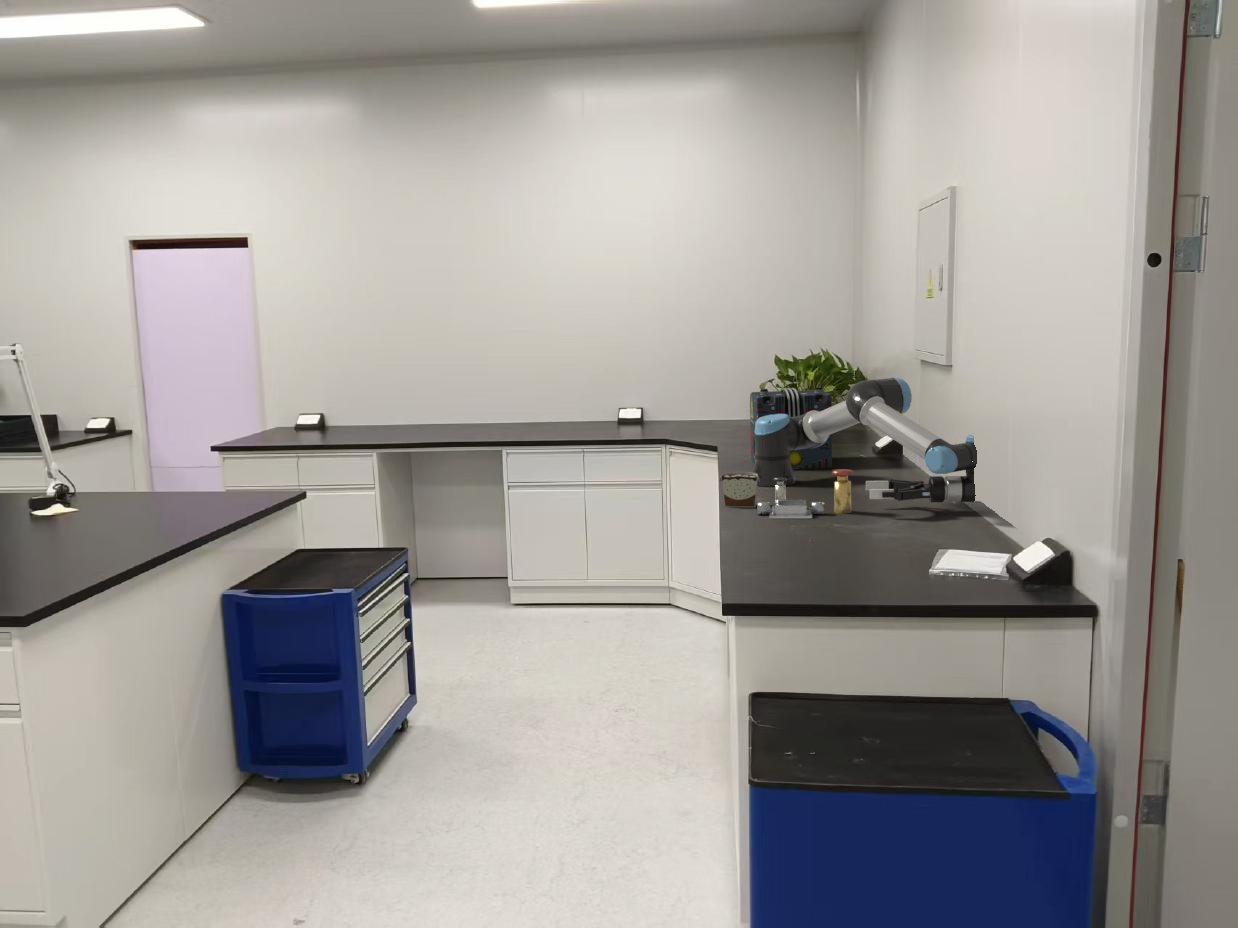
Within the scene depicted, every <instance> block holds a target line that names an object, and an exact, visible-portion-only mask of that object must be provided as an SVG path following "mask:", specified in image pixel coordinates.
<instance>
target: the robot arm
mask: <svg viewBox="0 0 1238 928" xmlns="http://www.w3.org/2000/svg"><path fill="white" fill-rule="evenodd" d="M912 398H913V396H912V391H911V388H910V386H909V384H908V382H907V381H905V379H903V378H900V377H889V378H880V379H867V380H866V379H865V380H861V381H858V382H856V383H855V384H853V385H852V386H851V387H850V388H849V390H848V391H847V394H846V398H845V400H843V401H841V402H839V403H837V404H833V405H832V407H829V408H827V409H825V410H823V411H820V412H819V411H815V410H813V411H809V412H807V413H805V414H803V415H800V416H796V417H789V416H788V415H787V414H774V415H767V416H763V417H760V418H758V419H757V421H756V423H755V453H756V461H755V464H753V465H754V466H753V469H752V472H751V473H756V474H758V476H759V480H760V482H759V481H758V482H757V487H758V486H760V487H775V485H776V484H777V481H775V480H774V477H787V480H786V481H784V484H785V485H786V486H791V485H793V484H795V483H796V475H795V473H794V470H793V469H792V466H791V463H790V451H792V450H800V449H808V448H816V447H819V446H821V445H823V444H824V443H825V442H826V441H827V439H828V437H829V435H830V434H832V435H833V434H835V433H837V432H841V431H843V430H845V429H848V428H850V427H853V426H855V425H858V424H861V425H863V426H871V427H873V428H875V429H876V430H878V431H879V432H881V433H883V434H884V435H886V436H888V437H889V438H891V440H894V441H895V442H897V443H898V444H900V445H901V446H902V447H904V448H906V449H907V450H909V451H910V452H912V453H913V454H915V455H916V456H918V457H919V458H922V459H923V460H925V461H924V462H925V465H926V467H927V468H928V470H929V472H931V473H933V474H936V475H933V476H929V478H928V483H924V482H925V481H923V480H906V479H905V480H903V479H893V478H892V479H890V480H866V481H865V491H869V500H897V501H898V502H900V501H907V500H909V501H910V500H918V499H919V500H920V499H928V500H929V502H930V503H943V502H946V503H952V504H953V505H956V504H957V503H975V502H974V501H975V496H976V495H975V484H974V468H975V467H976V464H977V450H976V447H975V445H974V436H973V435H970V434H971V433H969V434H968V435H967V436H966V439H965V442H963V443H955V444H953V443H952V444H951V443H950V442H948V441H946V440H945V439H944V438H941V437H939V436H938V435H937V434H935V433H933V432H932V431H930V430H928V429H927V428H925V427H923V426H922V425H921V424H918V423H917V422H916V421H914V420H912V419H910V418H909V417H908V416H906V415H904V414H905V413H907V412H908V411H909V409H910V407H911V403H912V401H913V399H912ZM972 461H973V462H972ZM960 471H965V475H947V474H950V473H955V472H956V473H957V472H960ZM939 474H940V475H939ZM941 474H944V475H945V477H944V476H942V475H941ZM937 475H939V476H937Z"/></svg>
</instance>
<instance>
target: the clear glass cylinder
mask: <svg viewBox="0 0 1238 928" xmlns="http://www.w3.org/2000/svg"><path fill="white" fill-rule="evenodd" d="M774 480H775V481H777V484H776V485H775V486H774V496H775V497H774V499H775V500H787V497H786V496H787V494H786V493H787V492H786V491H787V490H786V489H787V487H786V486H787V485H785V484H784V481H786V480H787V477H774ZM775 500H774V501H775Z"/></svg>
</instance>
